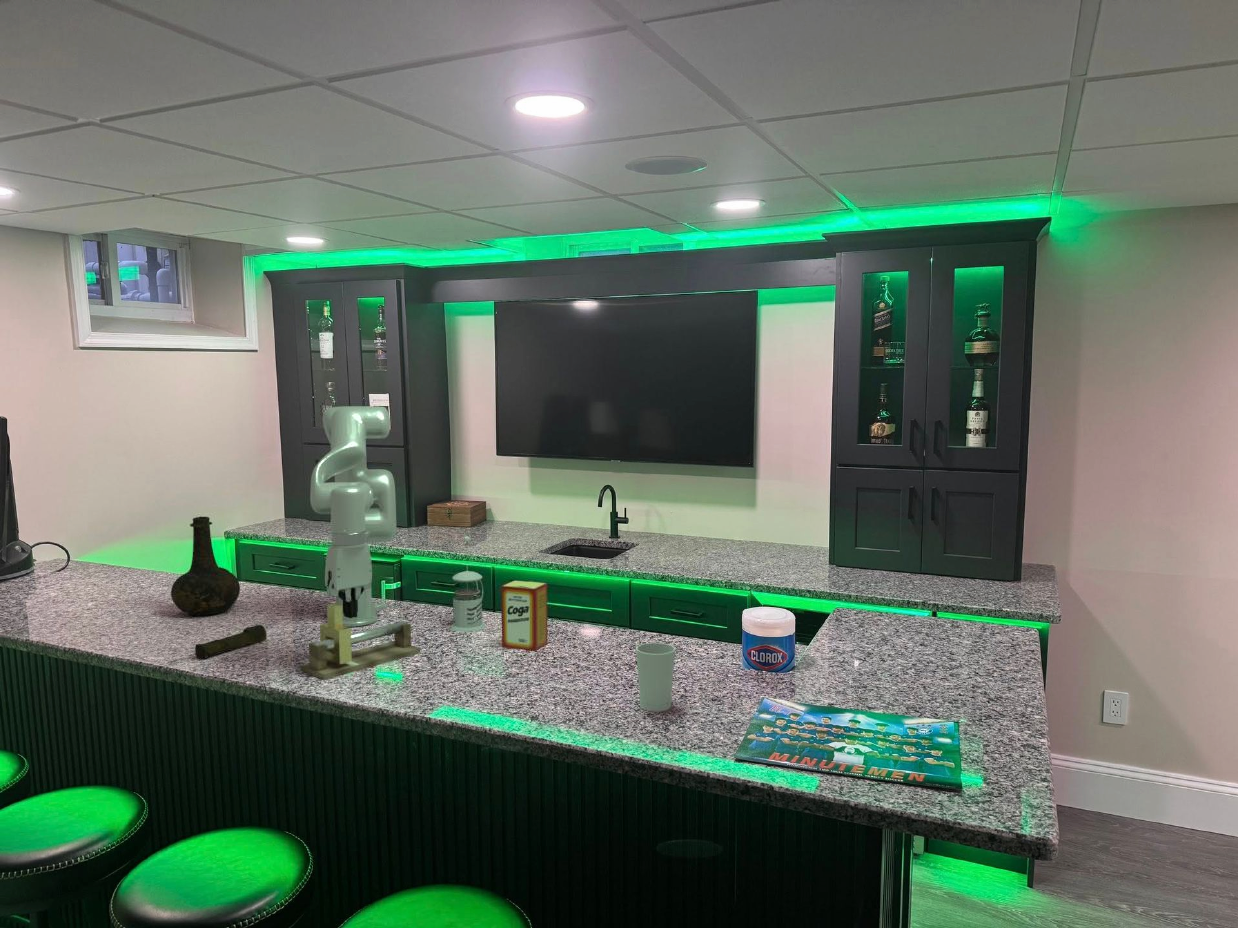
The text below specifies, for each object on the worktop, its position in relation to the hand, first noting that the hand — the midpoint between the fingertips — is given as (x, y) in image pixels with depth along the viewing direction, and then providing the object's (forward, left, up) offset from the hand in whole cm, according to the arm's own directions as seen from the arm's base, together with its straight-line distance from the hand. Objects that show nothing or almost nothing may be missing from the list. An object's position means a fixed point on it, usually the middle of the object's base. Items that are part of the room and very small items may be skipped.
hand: (350, 616), depth 199 cm
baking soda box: (-37, +20, -12) cm, 44 cm away
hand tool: (+12, -34, -12) cm, 38 cm away
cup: (-25, +71, -12) cm, 76 cm away
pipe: (-3, 0, -7) cm, 7 cm away
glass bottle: (0, -75, -12) cm, 76 cm away
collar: (+4, 0, -9) cm, 10 cm away
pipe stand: (-3, 0, -11) cm, 12 cm away
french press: (-40, -5, -12) cm, 42 cm away
